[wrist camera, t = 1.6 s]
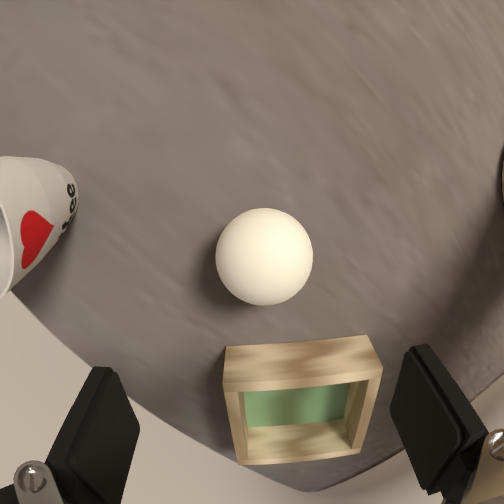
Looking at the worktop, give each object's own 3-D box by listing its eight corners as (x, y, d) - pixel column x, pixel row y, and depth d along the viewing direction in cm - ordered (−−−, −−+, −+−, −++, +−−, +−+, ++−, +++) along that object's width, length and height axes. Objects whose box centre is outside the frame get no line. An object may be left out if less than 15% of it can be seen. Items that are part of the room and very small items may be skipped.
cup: (63, 263, 24) (-8, 327, 14) (5, 200, 22) (-77, 238, 12) (114, 190, 22) (35, 234, 12) (47, 123, 20) (-47, 133, 10)
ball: (303, 196, 22) (322, 220, 16) (304, 276, 24) (319, 320, 18) (215, 202, 22) (203, 227, 16) (224, 281, 24) (217, 327, 19)
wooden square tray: (366, 334, 26) (383, 367, 22) (350, 421, 30) (359, 453, 26) (226, 346, 26) (222, 382, 22) (239, 431, 31) (238, 465, 26)
